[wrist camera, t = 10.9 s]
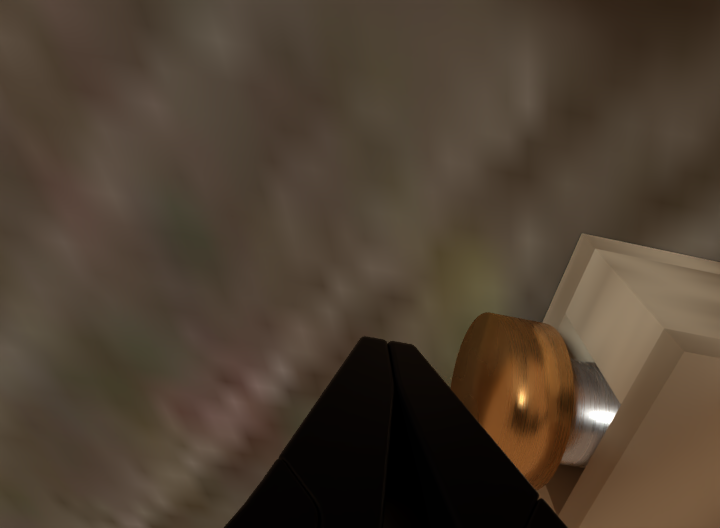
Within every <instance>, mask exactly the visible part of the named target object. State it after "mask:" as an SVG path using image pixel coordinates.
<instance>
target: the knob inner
mask: <svg viewBox="0 0 720 528" xmlns="http://www.w3.org/2000/svg"><path fill="white" fill-rule="evenodd" d="M451 390H452V391H453V392H454V393H455V395H456V396H457V397H458V398H459V399H460V401H461V402H462V403H463V404H464V405H465V406H466V408H467V409H468V410H469V411H470V412H471V414H472V415H473V416H474V417H475V418H476V420H477V421H478V422H479V423H480V424H481V425H482V427H483V428H484V429H485V430H486V431H487V433H488V434H489V435H490V436H491V437H492V439H493V440H494V441H495V442H496V443H497V444H498V446H499V447H500V448H501V449H502V450H503V452H504V453H505V454H506V455H507V456H508V458H509V459H510V460H511V461H512V462H513V463H514V465H515V466H516V467H517V468H518V469H519V471H520V472H521V473H522V474H523V475H524V477H525V478H526V479H527V480H528V481H529V482H530V484H531V485H532V486H533V487H534V488H535V490H536V491H537V490H539V489H541V488H542V487H543V486H545V485H546V484H547V483H548V482H549V480H550V479H551V478H552V477H553V475H554V473H555V472H556V470H557V468H558V466H559V464H562V465H568V466H574V467H580V468H585V467H586V466H587V464H588V462H589V460H590V459H591V457H592V455H593V453H594V452H595V450H596V448H597V446H598V444H599V443H600V441H601V439H602V437H603V436H604V434H605V432H606V430H607V429H608V427H609V425H610V423H611V422H612V420H613V418H614V416H615V414H616V413H617V411H618V409H619V407H620V406H621V404H620V402H619V401H618V399H617V397H616V396H615V394H614V392H613V391H612V389H611V388H610V386H609V384H608V383H607V381H606V379H605V378H604V376H603V374H602V373H601V371H600V370H599V368H598V366H597V365H596V363H593V362H588V361H583V360H577V359H572V358H570V356H569V353H568V350H567V347H566V344H565V342H564V340H563V338H562V337H561V335H560V334H559V332H558V331H557V330H556V329H555V328H554V327H552V326H551V325H549V324H546V323H541V322H536V321H530V320H525V319H520V318H515V317H509V316H504V315H499V314H494V313H483V314H481V315H480V316H478V317H477V318H476V319H475V320H474V322H473V323H472V324H471V326H470V327H469V329H468V331H467V333H466V335H465V337H464V339H463V342H462V344H461V347H460V350H459V353H458V356H457V360H456V364H455V368H454V372H453V377H452V383H451Z"/></svg>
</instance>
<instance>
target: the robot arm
mask: <svg viewBox="0 0 720 528" xmlns="http://www.w3.org/2000/svg"><path fill="white" fill-rule="evenodd" d="M224 528H568V527H567V526H566V525H565V524H564V522H563V521H562V520H561V519H560V518H559V517H558V515H557V514H556V513H555V512H554V511H553V509H552V508H551V507H550V506H549V505H548V504H547V502H546V501H545V500H544V499H543V498H539V493H538V492H537V491H536V490H535V488H534V487H533V486H532V485H531V484H530V482H529V481H528V480H527V479H526V478H525V477H524V475H523V474H522V473H521V472H520V471H519V469H518V468H517V467H516V466H515V465H514V463H513V462H512V461H511V460H510V459H509V458H508V456H507V455H506V454H505V453H504V452H503V450H502V449H501V448H500V447H499V446H498V444H497V443H496V442H495V441H494V440H493V439H492V437H491V436H490V435H489V434H488V433H487V431H486V430H485V429H484V428H483V427H482V425H481V424H480V423H479V422H478V421H477V420H476V418H475V417H474V416H473V415H472V414H471V412H470V411H469V410H468V409H467V408H466V406H465V405H464V404H463V403H462V402H461V401H460V399H459V398H458V397H457V396H456V395H455V393H454V392H453V391H452V390H451V389H450V387H449V386H448V385H447V384H446V383H445V382H444V380H443V379H442V378H441V377H440V376H439V374H438V373H437V372H436V371H435V370H434V368H433V367H432V366H431V365H430V364H429V363H428V361H427V360H426V359H425V358H424V357H423V355H422V354H421V353H420V352H419V351H418V349H417V348H416V347H415V346H414V345H412V344H407V343H401V342H395V341H390V342H389V343H388V344H387V342H386V341H385V340H383V339H377V338H372V337H366V336H364V337H362V338H360V340H359V341H358V343H357V344H356V345H355V347H354V348H353V350H352V351H351V353H350V354H349V356H348V357H347V359H346V360H345V361H344V363H343V364H342V366H341V367H340V369H339V370H338V372H337V373H336V375H335V376H334V377H333V379H332V380H331V382H330V383H329V385H328V386H327V388H326V389H325V390H324V392H323V393H322V395H321V396H320V398H319V399H318V401H317V402H316V404H315V405H314V406H313V408H312V409H311V411H310V412H309V414H308V415H307V417H306V418H305V419H304V421H303V422H302V424H301V425H300V427H299V428H298V430H297V431H296V433H295V434H294V435H293V437H292V438H291V440H290V441H289V443H288V444H287V446H286V447H285V449H284V450H283V451H282V453H281V454H280V456H279V459H277V460H276V461H275V462H274V464H273V465H272V467H271V468H270V470H269V471H268V473H267V474H266V475H265V477H264V478H263V480H262V481H261V482H260V484H259V485H258V486H257V488H256V489H255V490H254V492H253V493H252V494H251V496H250V497H249V498H248V500H247V501H246V502H245V504H244V505H243V506H242V507H241V508H240V510H239V511H238V512H237V513H236V514H235V515H234V516H233V518H232V519H231V520H230V521H229V522H228V523H227V524H226V526H225V527H224Z"/></svg>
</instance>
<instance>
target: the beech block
mask: <svg viewBox="0 0 720 528" xmlns="http://www.w3.org/2000/svg"><path fill="white" fill-rule="evenodd" d="M542 323H546V324H549V325H551V326H552V327H554V328H555V329H556V330H557V331H558V332H559V334H560V335H561V337H562V338H563V340H564V342H565V344H566V347H567V350H568V353H569V356H570V358H572V359H577V360H583V361H588V362H593V363H596V365H597V366H598V368H599V370H600V371H601V373H602V374H603V376H604V378H605V379H606V381H607V383H608V384H609V386H610V388H611V389H612V391H613V392H614V394H615V396H616V397H617V399H618V401H619V402H620V404H621V406H620V407H619V409H618V411H617V413H616V414H615V416H614V418H613V420H612V422H611V423H610V425H609V427H608V429H607V430H606V432H605V434H604V436H603V437H602V439H601V441H600V443H599V444H598V446H597V448H596V450H595V452H594V453H593V455H592V457H591V459H590V460H589V462H588V464H587V466H586V467H585V468H580V467H574V466H568V465H562V464H559V466H558V468H557V470H556V472H555V473H554V475H553V477H552V478H551V479H550V480H549V482H548V483H547V484H546V485H545V486H543V487H542V488H541V489H539V490H537V492H538V493H539V498H543V499H544V500H545V501H546V502H547V504H548V505H549V506H550V507H551V508H552V509H553V511H554V512H555V513H556V514H557V515H558V517H559V518H560V519H561V520H562V521H563V522H564V524H565V525H566V526H567V527H568V528H720V262H716V261H711V260H707V259H702V258H697V257H692V256H688V255H683V254H678V253H673V252H669V251H664V250H659V249H654V248H649V247H645V246H640V245H635V244H630V243H626V242H621V241H616V240H611V239H607V238H602V237H597V236H592V235H588V234H583V233H582V234H581V237H580V239H579V241H578V243H577V246H576V248H575V250H574V252H573V255H572V257H571V259H570V261H569V264H568V266H567V268H566V270H565V273H564V275H563V277H562V279H561V282H560V284H559V286H558V288H557V291H556V293H555V295H554V298H553V300H552V302H551V304H550V307H549V309H548V311H547V313H546V316H545V318H544V320H543V322H542Z"/></svg>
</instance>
